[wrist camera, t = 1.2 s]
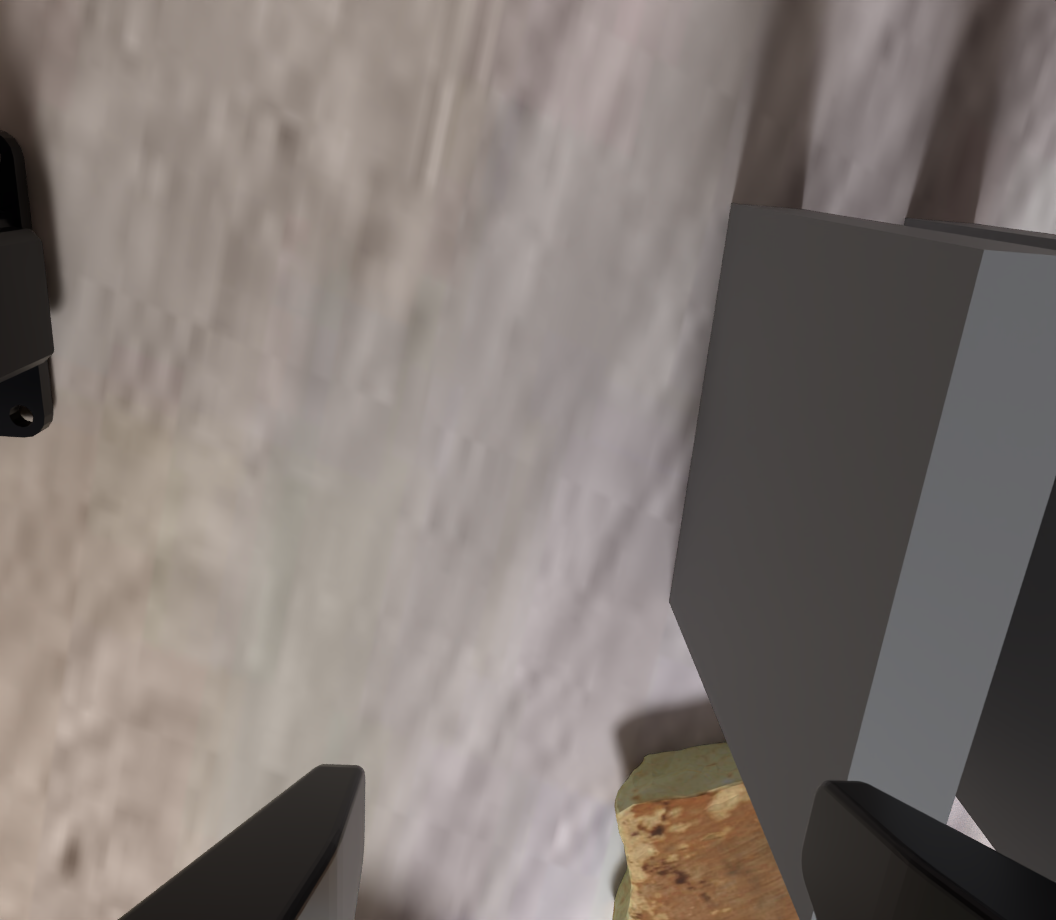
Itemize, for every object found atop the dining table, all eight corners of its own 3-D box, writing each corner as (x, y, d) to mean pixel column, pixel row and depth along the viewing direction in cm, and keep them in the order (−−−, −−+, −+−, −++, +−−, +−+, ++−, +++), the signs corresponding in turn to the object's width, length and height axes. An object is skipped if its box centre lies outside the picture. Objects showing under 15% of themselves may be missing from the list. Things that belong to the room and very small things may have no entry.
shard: (928, 1001, 28) (963, 1068, 26) (660, 1064, 28) (674, 1134, 26) (882, 683, 24) (920, 732, 21) (565, 763, 24) (573, 819, 22)
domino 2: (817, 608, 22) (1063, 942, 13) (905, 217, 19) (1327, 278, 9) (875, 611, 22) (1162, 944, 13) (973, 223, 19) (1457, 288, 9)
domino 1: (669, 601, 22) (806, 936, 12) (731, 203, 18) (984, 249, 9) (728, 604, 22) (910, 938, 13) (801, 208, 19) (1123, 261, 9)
